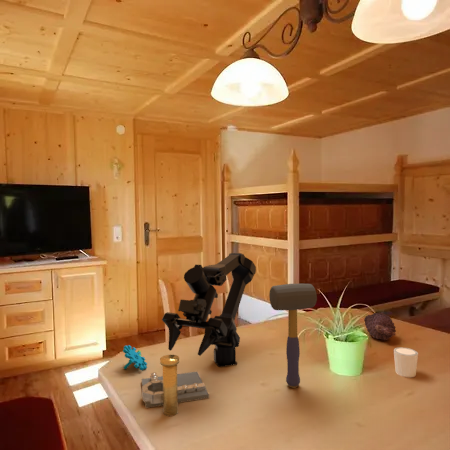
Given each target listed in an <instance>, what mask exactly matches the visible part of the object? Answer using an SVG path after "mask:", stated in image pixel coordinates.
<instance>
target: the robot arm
mask: <svg viewBox="0 0 450 450" xmlns="http://www.w3.org/2000/svg"><path fill="white" fill-rule="evenodd" d="M230 273H231V276H232V278H233V280H232V282H231V286H230V288H229V292H228V295H227V297H226V300H225V303H224V306H223V309H222V311H221V314H220V315H215V316H214V317H209V315H212V312H213V311H212V306H213V304H214V300H215V299H218V297H219V294H218V292H217V289H216V288H215V287H214V286H217V287H221V286H224V284H225V283H226V281H227V279H228V278H227V276H228V275H229V274H230ZM256 273H257V267H256V264H255V263H254V261H252V260H251V259H249V258H248V257H247V256H245V255H244V253H241V252H231V253H229V254H228V256H226V257H225V258H223V259H222V260H220V261H218V263H215V264H208V265H205V266H202V264H195V265H194V266H193V267H191V268H189V269H188V270H187V271H186V272H185V273H184V274H183V279H184V281H185V283H186V284H187V286H188V287H189V289H190V291H191V292H192V293H193V294H195V295H194V297H193V299H190V300H189V299H188V300H187V299H180V301H179V304H178V310H177V312H182V315H183V316H184V317H185V318H181V317H180V315H179V314H178V313H176V312H169V311H168V312H164V314H163V316H162V318H161V321H162V322H163V323H164V324H165V326H166V327H167V328H168V347H167V348H168V350H169V351H172V350H173V349H174V347H175V345H176V343H177V341H178V339H179V337H180V335H181V334H182V333H181V332H182V331H181V329H182V328H183V327H189V328H196V329H197V328H198V329H203V330H204V335H203V337H202V340H201V342H200V345H199V347H198V352H197V355H198V356H199V357H201V355H203V354H204V353H205V352H206V350H207V349H208V348H210V346H213V345H214V346H215V348H213V361H214V362H215V363H214V364H216V365H217V367H219V368H222V367H230V366H237V365H238V362H237V361H236V359H237V358H236V357H237V356H236V348H238V347H240V342H241V341H240V340H241V337H240V335H239V333H237V325H236V322H235V321H236V320H235V319H236V317H237V313H238V311H239V307H240V304H241V301H242V299H243V294H244V292H245V288H246V286H247V285H248V284H249V283H251V282H252V281H253V279H254V277H255V274H256ZM208 317H209V318H208Z"/></svg>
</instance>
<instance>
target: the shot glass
mask: <svg viewBox="0 0 450 450" xmlns="http://www.w3.org/2000/svg"><path fill="white" fill-rule="evenodd" d="M393 356H394V357H393V359H394V368H395V373H396V374H397V375H398V376H400V377H403V378H414V377H416V375H417V367H418V360H419V359H418V357H419V352H418V351H416V350H415V349H413V348H409V347H395V348H394V349H393Z"/></svg>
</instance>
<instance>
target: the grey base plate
mask: <svg viewBox="0 0 450 450" xmlns="http://www.w3.org/2000/svg"><path fill="white" fill-rule="evenodd" d="M158 379H159V380H163V375H161V376H158ZM148 382H151V380H150V377H148V378H147V377H146V378H142V379H141V387H142V386H144V385H145V384H147V383H148ZM193 383H198V384H199V383H204V382H203V380H202V378H201V377H200V374H199V372H198V371H190V372H184V373H183V372H182V373H177V387H179V386H182V385H192V384H193ZM155 392H159V391H155ZM209 397H210V395H209V392H208V390H207V389H206V390H204V391H195V392H191V393H184V394H178V404H179V403H184V402H190V401H197V400H205V399H209ZM144 405H145V406H144V407H145V409H148V408H155V407H159V406H160V407H161V406H163V403H156V404H151V403H148V402H145V401H144Z"/></svg>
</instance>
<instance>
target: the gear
mask: <svg viewBox="0 0 450 450" xmlns="http://www.w3.org/2000/svg"><path fill="white" fill-rule="evenodd" d="M122 352H123V353H124V357H125V358H126V359H129V360H128V362H127V363H126V364H125V365H124V366H123V367H122V368H123V369H124V370H126V371H127V368H129V367H130V365H132V364H134V365H133V367H135V369H139V371H140V370H141V371H143V370H146V369H147V368H148V367H147V365H148V362H146V358H145V357H144V356H142V351H141V350H140V349H138V350H137V348H135V347H134V346H133V347H132V346H131V345H130V344H128V345H124V346H123V350H122Z"/></svg>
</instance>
